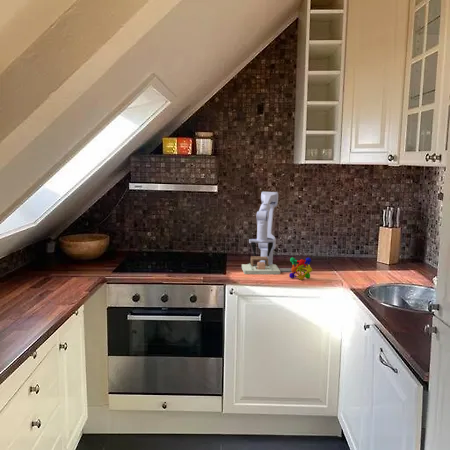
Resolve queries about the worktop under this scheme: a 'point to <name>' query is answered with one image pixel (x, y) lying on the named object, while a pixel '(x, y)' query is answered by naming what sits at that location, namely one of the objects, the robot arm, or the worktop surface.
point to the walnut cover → (259, 259)
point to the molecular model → (300, 268)
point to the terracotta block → (261, 265)
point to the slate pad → (285, 269)
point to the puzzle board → (253, 269)
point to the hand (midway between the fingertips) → (261, 255)
